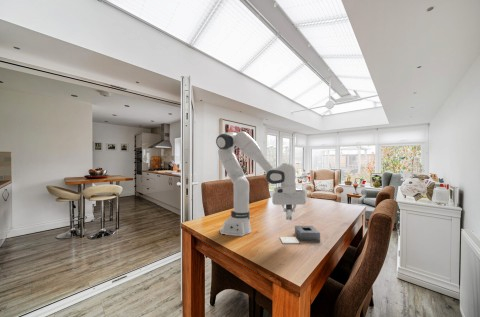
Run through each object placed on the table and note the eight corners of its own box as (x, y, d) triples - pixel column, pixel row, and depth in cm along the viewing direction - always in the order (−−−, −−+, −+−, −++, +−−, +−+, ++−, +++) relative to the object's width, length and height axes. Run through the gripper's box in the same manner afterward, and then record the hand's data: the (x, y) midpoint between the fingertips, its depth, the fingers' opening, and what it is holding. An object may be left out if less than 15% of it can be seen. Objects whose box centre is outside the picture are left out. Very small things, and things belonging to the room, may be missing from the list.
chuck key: (284, 218, 109) (284, 204, 109) (289, 217, 111) (289, 203, 110) (288, 220, 106) (288, 205, 106) (293, 219, 107) (293, 205, 107)
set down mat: (282, 243, 103) (282, 242, 104) (279, 237, 111) (279, 237, 112) (299, 243, 103) (299, 242, 103) (295, 238, 111) (295, 237, 111)
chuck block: (300, 240, 107) (300, 232, 107) (295, 233, 119) (294, 225, 119) (320, 240, 107) (320, 232, 107) (312, 233, 119) (312, 225, 119)
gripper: (303, 188, 111) (304, 210, 111) (271, 188, 112) (272, 210, 111) (307, 189, 105) (307, 212, 104) (273, 190, 105) (273, 213, 105)
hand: (288, 211), depth 108 cm, fingers closed on chuck key, 4 cm apart
